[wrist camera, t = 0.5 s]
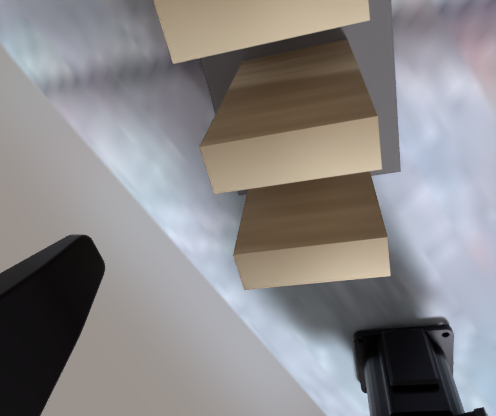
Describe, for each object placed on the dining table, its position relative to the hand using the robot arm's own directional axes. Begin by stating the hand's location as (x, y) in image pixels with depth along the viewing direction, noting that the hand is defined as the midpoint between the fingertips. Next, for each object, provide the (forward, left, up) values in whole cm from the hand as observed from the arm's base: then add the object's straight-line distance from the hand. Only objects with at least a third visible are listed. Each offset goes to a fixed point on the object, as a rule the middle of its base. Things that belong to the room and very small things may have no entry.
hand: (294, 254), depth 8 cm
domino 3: (-4, 0, -15) cm, 15 cm away
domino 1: (+4, 0, -15) cm, 15 cm away
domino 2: (0, 0, -15) cm, 15 cm away
